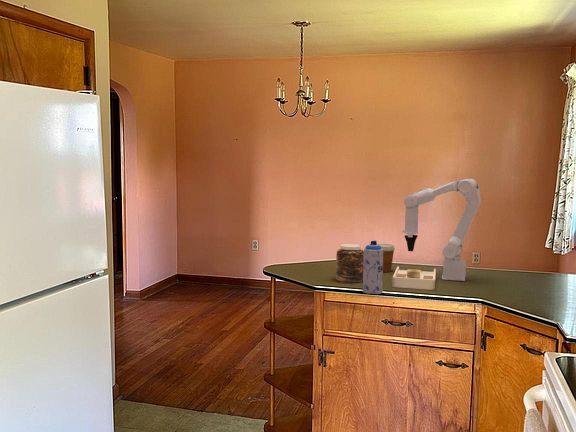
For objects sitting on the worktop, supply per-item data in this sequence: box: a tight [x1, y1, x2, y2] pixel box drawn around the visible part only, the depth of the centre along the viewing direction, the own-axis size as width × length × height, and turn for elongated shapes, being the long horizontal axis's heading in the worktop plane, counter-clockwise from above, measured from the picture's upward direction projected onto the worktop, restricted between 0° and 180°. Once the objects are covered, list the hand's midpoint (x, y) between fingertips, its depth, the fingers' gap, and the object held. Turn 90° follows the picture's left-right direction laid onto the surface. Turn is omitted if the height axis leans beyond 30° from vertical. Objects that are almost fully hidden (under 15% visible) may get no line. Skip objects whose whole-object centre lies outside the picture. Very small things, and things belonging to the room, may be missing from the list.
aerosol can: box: [361, 240, 384, 295], centre depth 207 cm, size 8×8×20 cm
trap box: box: [391, 265, 437, 291], centre depth 225 cm, size 17×24×4 cm
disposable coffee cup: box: [377, 243, 396, 273], centre depth 247 cm, size 10×10×12 cm
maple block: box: [406, 268, 421, 279], centre depth 217 cm, size 5×5×4 cm
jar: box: [335, 243, 364, 284], centre depth 228 cm, size 12×12×15 cm
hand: (410, 251), depth 241 cm, fingers closed
